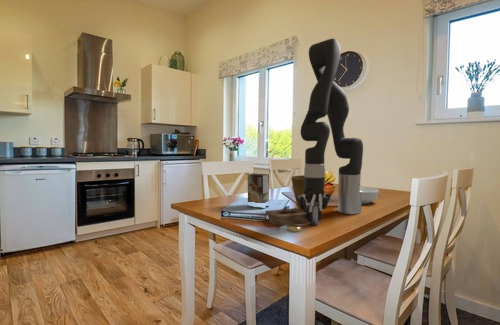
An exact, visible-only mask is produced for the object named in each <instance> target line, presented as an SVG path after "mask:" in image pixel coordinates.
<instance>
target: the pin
mask: <svg viewBox="0 0 500 325" xmlns="http://www.w3.org/2000/svg"><path fill="white" fill-rule="evenodd" d="M309 225H313V226H317V225H319V221H318V205H314V206H313V207H312V222H309Z"/></svg>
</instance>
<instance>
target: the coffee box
mask: <svg viewBox="0 0 500 325" xmlns="http://www.w3.org/2000/svg"><path fill="white" fill-rule="evenodd" d="M268 201H269V202H270V174H268V173H267V174H266V173H256V172H254V173H253V172H252V173H249V174H247V203H248V202H255V203H266V202H268Z"/></svg>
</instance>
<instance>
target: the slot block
mask: <svg viewBox="0 0 500 325" xmlns="http://www.w3.org/2000/svg"><path fill="white" fill-rule="evenodd" d="M266 214H267V215H268V217H269V221H268V222H269V223H270V224H272V225H274V226H275V227H282V226H288V225H299V224H308V223H309V224H310V222H309V221H308V220H307V219H306V212H304V211H302V210H299V208H297V207H294V208H283V209H282V208H281V209H274V210H273V209H271V210H265V215H266Z"/></svg>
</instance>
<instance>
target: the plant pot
mask: <svg viewBox="0 0 500 325" xmlns="http://www.w3.org/2000/svg"><path fill="white" fill-rule="evenodd" d="M290 178H291V185H292V190H293V193H294V194H293V195H294V199H295V201H296V205H297V207H298V208H297V209H299V210H302V208H301V206H300V203H299V200H298V198H297V196H298V195H300V196H301V195H302V194H304V191H305V188H304V174H303V175H293V176H291V177H290ZM306 200H307V199H306V197H305V203H306ZM314 205H315V203H314ZM302 211H304V212H306V211H305V210H302Z"/></svg>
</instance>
